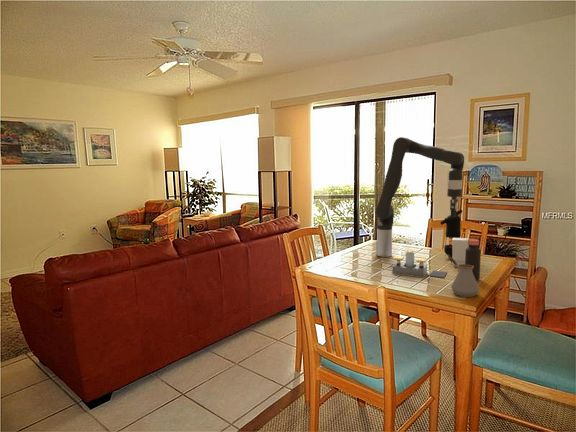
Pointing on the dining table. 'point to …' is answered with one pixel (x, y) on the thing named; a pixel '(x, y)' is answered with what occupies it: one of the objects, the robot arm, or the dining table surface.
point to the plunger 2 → (421, 262)
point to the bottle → (473, 257)
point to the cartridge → (409, 259)
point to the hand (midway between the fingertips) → (453, 216)
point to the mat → (438, 274)
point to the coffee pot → (464, 280)
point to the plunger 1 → (398, 259)
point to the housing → (409, 270)
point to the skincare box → (459, 250)
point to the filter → (452, 230)
